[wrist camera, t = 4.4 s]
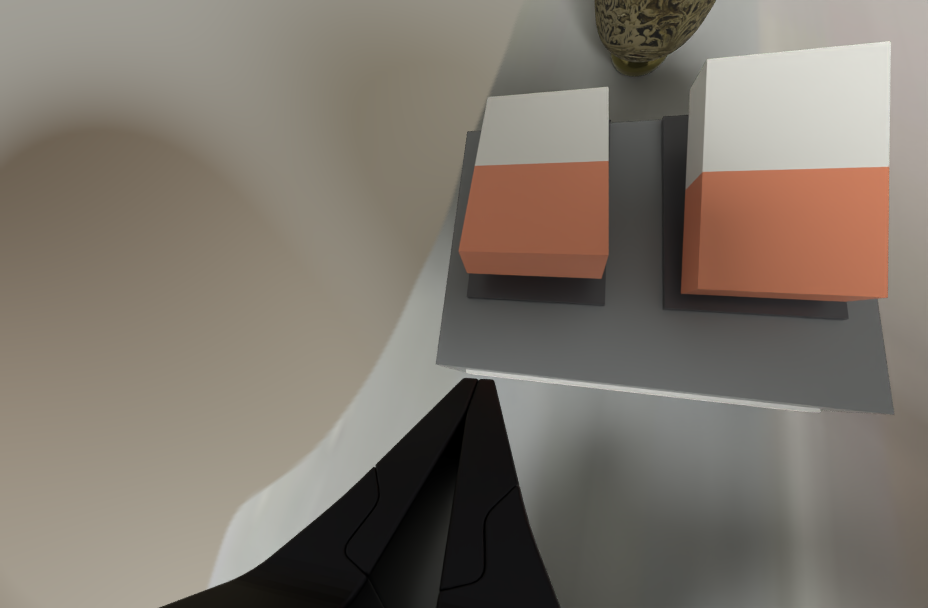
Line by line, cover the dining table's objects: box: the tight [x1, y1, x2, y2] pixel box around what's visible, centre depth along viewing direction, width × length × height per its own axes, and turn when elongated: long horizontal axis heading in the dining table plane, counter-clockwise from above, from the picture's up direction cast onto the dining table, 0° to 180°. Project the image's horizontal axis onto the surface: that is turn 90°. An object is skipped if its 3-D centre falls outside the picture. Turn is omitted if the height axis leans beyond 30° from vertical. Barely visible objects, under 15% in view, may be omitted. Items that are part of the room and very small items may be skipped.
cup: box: [595, 0, 716, 76], centre depth 21 cm, size 8×7×8 cm
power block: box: [436, 115, 894, 415], centre depth 18 cm, size 12×16×7 cm
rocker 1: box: [459, 87, 609, 279], centre depth 14 cm, size 8×5×2 cm, turn 173°
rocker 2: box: [681, 41, 891, 302], centre depth 12 cm, size 8×5×2 cm, turn 173°
